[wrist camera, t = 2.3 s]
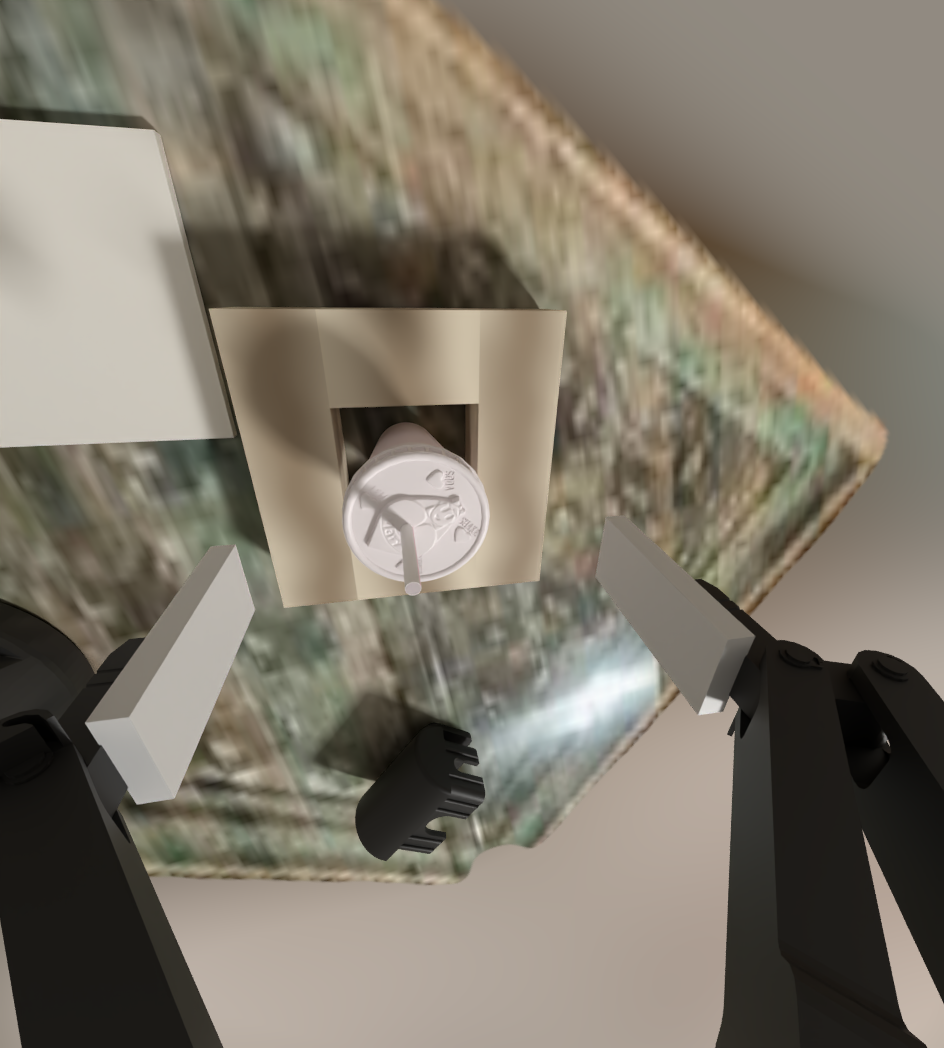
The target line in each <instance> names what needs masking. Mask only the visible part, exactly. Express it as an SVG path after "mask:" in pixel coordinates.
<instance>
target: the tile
mask: <svg viewBox="0 0 944 1048" xmlns="http://www.w3.org/2000/svg"><path fill="white" fill-rule="evenodd" d="M236 435H237V432H236V428H235V424H234V420H233V416H232V413H231V409H230V405H229V401H228V397H227V393H226V389H225V385H224V381H223V377H222V374H221V370H220V366H219V362H218V358H217V354H216V350H215V346H214V342H213V338H212V335H211V331H210V327H209V323H208V319H207V315H206V311H205V307H204V303H203V299H202V296H201V292H200V288H199V284H198V280H197V276H196V272H195V268H194V264H193V260H192V257H191V253H190V249H189V245H188V241H187V237H186V233H185V229H184V225H183V221H182V218H181V214H180V210H179V206H178V202H177V198H176V194H175V190H174V186H173V182H172V179H171V175H170V171H169V167H168V163H167V159H166V155H165V151H164V147H163V144H162V140H161V136H160V134H159V133H157V132H156V131H155V130H149V129H135V128H120V127H106V126H92V125H78V124H63V123H49V122H35V121H21V120H6V119H0V447H22V446H46V445H70V444H95V443H119V442H143V441H167V440H191V439H215V438H234V437H235V436H236Z"/></svg>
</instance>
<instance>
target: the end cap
mask: <svg viewBox="0 0 944 1048" xmlns="http://www.w3.org/2000/svg"><path fill="white" fill-rule="evenodd" d="M471 741H472V740H471V736H470V734H469V733H468V732H465V731H461V730H458V729H455V728H452V727H449V726H445V725H442V724H439V723H432V724H430V725H428V726H426V727H425V728H423V729H422V730H421V731H420V732H419V733H418V734H417V735H416V736H415V737H414V738H413V740H412V741H411V742H410V743H409V744H408V745H407V746H406V748H405V749H404V750H403V751H402V752H401V753H400V754H399V756H398V757H397V758H396V759H395V760H394V761H393V762H392V763H391V765H390V766H389V767H388V768H387V769H386V770H385V771H384V773H383V774H382V775H381V776H380V777H379V778H378V779H377V781H376V782H375V783H374V784H373V785H372V786H371V787H370V789H369V790H368V791H367V792H366V793H365V794H364V795H363V796H362V798H361V800H360V801H359V803H358V806H357V809H356V816H355V823H356V829H357V833H358V836H359V839H360V841H361V842H362V844H363V846H364V847H365V848H366V850H367V851H368V852H369V853H370V854H372V855H373V856H374V857H376V858H378V859H380V860H384V861H387V860H388V859H389V858H390V857H391V856H392V855H393V854H394V853H395V852H396V851H397V850H398V849H402V850H408V851H414V852H421V853H427V854H430V853H431V852H433V851H434V849H435V848H436V847H437V846H438V845H440V844H441V843H442V842H443V841H444V840H445V839H446V832H441V831H435V830H430V829H428V828H426V825H427V824H428V823H429V822H430V821H431V820H433V819H435V818H438V817H442V816H452V817H457V818H462V819H466V818H468V817H469V815H470V814H471V813H472V812H473V811H474V810H475V809H477V808H478V806H479V805H480V804H481V803H482V802H483V801H484V798H485V789H484V784H483V779H482V778H481V777H478V776H474V775H470V774H466V773H462V772H460V771H458V770H457V769H458V768H459V767H460V766H461V765H462V764H463V763H466V764H470V765H474V766H477V765H478V764H479V760H478V756H477V751H476V749H474V748H471V747H467V746H468V745H469V744H470V743H471Z"/></svg>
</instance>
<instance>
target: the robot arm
mask: <svg viewBox="0 0 944 1048" xmlns="http://www.w3.org/2000/svg"><path fill="white" fill-rule="evenodd" d="M595 577H596V578H597V580H598V581H599V582H600V584H601V585H602V586H603V588H604V589H605V590H606V592H607V593H608V594H609V596H610V597H611V599H612V600H613V601H614V603H615V604H616V605H617V607H618V608H619V609H620V611H621V612H622V613H623V615H624V616H625V617H626V619H627V620H628V621H629V623H630V624H631V625H632V627H633V628H634V630H635V631H636V632H637V634H638V635H639V636H640V638H641V639H642V640H643V642H644V643H645V644H646V646H647V647H648V648H649V650H650V651H651V652H652V654H653V655H654V657H655V658H656V659H657V661H658V662H659V663H660V665H661V666H662V667H663V669H664V670H665V671H666V673H667V674H668V675H669V677H670V678H671V679H672V681H673V682H674V684H675V685H676V686H677V688H678V689H679V690H680V692H681V693H682V694H683V696H684V697H685V698H686V699H687V701H688V702H689V704H690V705H691V706H692V708H693V709H694V711H695V712H696V713H697V715H703V714H710V713H716V712H722V711H723V710H724V708H725V705H726V703H727V701H728V699H729V696H731V698H732V699H733V700H734V701H735V702H736V703H737V705H738V706H739V709H738V711H737V713H736V715H735V718H734V720H733V722H732V724H731V726H730V729H729V731H728V735H730V736H732V735H733V732H734V731H735V741H734V766H733V767H734V768H733V791H732V793H733V794H732V817H731V841H730V866H729V891H728V918H727V942H726V968H725V992H724V993H725V994H724V1010H723V1018H722V1024H721V1027H720V1031H719V1035H718V1039H717V1042H716V1047H715V1048H927V1046H926V1045H925V1044H924V1043H923V1042H922V1041H920V1040H919V1039H918V1038H917V1037H915V1035H913V1034H912V1033H911V1032H910V1031H909V1030H908V1029H907V1027H906V1025H905V1023H904V1022H903V1019H902V1016H901V1012H900V1009H899V1005H898V1000H897V996H896V990H895V985H894V981H893V976H892V971H891V966H890V962H889V957H888V952H887V947H886V942H885V938H884V933H883V928H882V923H881V919H880V913H879V909H878V904H877V899H876V894H875V890H874V885H873V880H872V875H871V871H870V866H869V861H868V856H867V852H866V846H865V842H864V837H863V832H864V834H865V836H866V838H867V840H868V842H869V845H870V847H871V849H872V851H873V853H874V855H875V857H876V860H877V862H878V864H879V866H880V868H881V870H882V872H883V875H884V877H885V879H886V881H887V883H888V885H889V887H890V889H891V892H892V894H893V896H894V898H895V900H896V902H897V904H898V907H899V909H900V911H901V913H902V915H903V917H904V920H905V922H906V924H907V926H908V928H909V930H910V932H911V935H912V937H913V939H914V941H915V943H916V945H917V947H918V949H919V952H920V954H921V956H922V958H923V960H924V962H925V964H926V967H927V969H928V971H929V973H930V975H931V977H932V979H933V981H934V984H935V986H936V988H937V990H938V992H939V994H940V996H941V999H942V1001H943V1003H944V701H943V700H942V699H941V698H940V696H939V695H938V694H937V693H936V692H935V690H934V689H933V688H932V687H931V685H930V684H929V683H928V682H927V680H926V679H925V678H924V677H923V676H922V675H921V674H920V673H919V672H918V671H917V670H916V669H915V668H914V667H912V666H910V665H909V664H907V663H906V662H904V661H903V660H901V659H899V658H897V657H894V656H892V655H889V654H885V653H882V652H878V651H870V650H864V651H861V652H858V654H857V656H856V657H855V659H854V661H853V662H852V664H845V663H838V662H830V661H824V660H823V659H822V658H821V657H820V656H819V655H818V654H816V653H815V652H813V651H812V650H810V649H808V648H807V647H805V646H802V645H800V644H797V643H795V642H790V641H785V640H776V639H775V638H774V637H772V636H771V635H770V634H769V633H768V632H767V631H766V630H765V629H763V628H762V627H761V626H760V625H759V624H758V623H756V621H754V620H753V619H752V618H751V617H750V616H749V615H748V614H746V613H745V612H744V611H743V610H740V609H739V606H737V605H736V604H735V603H734V602H733V601H730V600H729V598H728V597H727V596H726V595H725V594H724V593H723V592H722V591H720V590H719V589H718V588H717V587H715V586H713V585H711V584H709V583H708V582H706V581H704V580H702V579H696V580H694V579H693V578H692V577H691V576H690V575H689V574H688V573H686V572H685V571H684V570H683V569H682V568H681V567H680V566H679V565H678V564H677V563H676V562H675V561H673V560H672V559H671V558H670V557H669V556H668V555H667V554H666V553H665V552H664V551H663V550H662V549H660V548H659V547H658V546H657V545H656V544H655V543H654V542H653V541H652V540H651V539H650V538H649V537H647V536H646V535H645V534H644V533H643V532H642V531H641V530H640V529H639V528H638V527H637V526H636V525H634V524H633V523H632V522H631V521H630V520H629V519H628V518H627V517H626V516H611V517H606V520H605V525H604V531H603V536H602V542H601V548H600V553H599V559H598V564H597V570H596V576H595ZM254 611H255V608H254V605H253V602H252V598H251V595H250V592H249V588H248V585H247V581H246V578H245V575H244V571H243V568H242V564H241V561H240V558H239V554H238V551H237V548H236V545H223V546H211V547H210V548H209V549H208V551H207V552H206V554H205V555H204V556H203V558H202V559H201V561H200V562H199V563H198V565H197V566H196V568H195V569H194V570H193V572H192V573H191V575H190V576H189V577H188V579H187V580H186V582H185V583H184V585H183V586H182V587H181V589H180V590H179V592H178V593H177V594H176V596H175V597H174V599H173V600H172V601H171V603H170V604H169V606H168V607H167V608H166V610H165V611H164V613H163V614H162V615H161V617H160V618H159V620H158V621H157V622H156V624H155V625H154V627H153V628H152V629H151V631H150V632H149V634H148V635H147V636H146V637H145V638H136V639H129V640H128V641H127V642H125V643H124V644H123V645H121V646H120V647H119V648H117V649H116V650H115V651H114V652H112V653H111V654H110V655H109V656H108V657H107V659H106V660H105V661H104V662H103V664H102V665H101V666H100V668H99V669H98V670H97V674H94V672H93V669H92V667H91V666H90V664H89V662H88V661H87V659H86V658H85V657H84V655H83V654H82V653H81V652H80V650H79V649H78V648H77V647H76V646H75V645H74V644H73V643H72V642H71V641H69V640H68V639H67V638H66V637H65V636H64V635H62V634H61V633H59V632H58V631H57V630H55V629H54V628H52V627H51V626H49V625H48V624H46V623H44V622H43V621H41V620H39V619H37V618H35V617H33V616H32V615H30V614H28V613H25V612H23V611H21V610H19V609H16V608H14V607H11V606H9V605H6V604H3V603H1V602H0V921H1V927H2V933H3V939H4V945H5V951H6V956H7V963H8V968H9V974H10V980H11V986H12V992H13V998H14V1004H15V1010H16V1015H17V1021H18V1028H19V1033H20V1039H21V1045H22V1048H223V1046H222V1044H221V1041H220V1039H219V1037H218V1034H217V1032H216V1030H215V1028H214V1025H213V1023H212V1021H211V1018H210V1016H209V1014H208V1012H207V1009H206V1007H205V1005H204V1002H203V1000H202V998H201V995H200V993H199V991H198V988H197V986H196V984H195V982H194V979H193V977H192V975H191V972H190V970H189V968H188V966H187V963H186V961H185V959H184V956H183V954H182V952H181V950H180V947H179V945H178V943H177V940H176V938H175V936H174V933H173V931H172V929H171V926H170V924H169V922H168V920H167V917H166V915H165V913H164V910H163V908H162V906H161V903H160V901H159V899H158V897H157V894H156V892H155V890H154V887H153V885H152V883H151V881H150V878H149V876H148V874H147V871H146V869H145V867H144V864H143V862H142V860H141V858H140V855H139V853H138V851H137V848H136V846H135V844H134V842H133V839H132V837H131V835H130V832H129V830H128V828H127V825H126V823H125V821H124V819H123V816H122V815H121V813H120V812H119V810H118V809H117V808H118V806H119V804H120V802H121V800H122V798H123V796H124V794H125V793H126V791H127V790H128V791H129V793H130V794H131V796H132V798H133V799H134V801H135V802H136V804H143V803H149V802H156V801H162V800H168V799H174V798H175V796H176V794H177V791H178V789H179V787H180V784H181V782H182V780H183V777H184V775H185V773H186V770H187V768H188V766H189V763H190V761H191V759H192V756H193V754H194V752H195V749H196V747H197V745H198V742H199V740H200V738H201V735H202V733H203V730H204V728H205V726H206V723H207V721H208V719H209V716H210V714H211V712H212V709H213V707H214V705H215V702H216V700H217V698H218V695H219V693H220V691H221V688H222V686H223V684H224V681H225V679H226V677H227V674H228V672H229V670H230V667H231V665H232V663H233V660H234V658H235V655H236V653H237V651H238V648H239V646H240V644H241V641H242V639H243V637H244V634H245V632H246V630H247V627H248V625H249V623H250V620H251V618H252V616H253V613H254ZM887 740H889V743H890V746H889V745H888V743H887ZM862 830H863V832H862Z"/></svg>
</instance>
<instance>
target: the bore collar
mask: <svg viewBox="0 0 944 1048" xmlns="http://www.w3.org/2000/svg"><path fill="white" fill-rule="evenodd" d="M209 312H210V316H211V320H212V324H213V328H214V332H215V336H216V340H217V344H218V347H219V351H220V355H221V359H222V363H223V367H224V371H225V375H226V379H227V383H228V387H229V391H230V395H231V399H232V403H233V407H234V411H235V415H236V419H237V423H238V427H239V431H240V435H241V438H242V442H243V446H244V450H245V454H246V458H247V462H248V466H249V470H250V474H251V478H252V482H253V486H254V490H255V494H256V498H257V502H258V506H259V510H260V514H261V518H262V522H263V526H264V529H265V533H266V537H267V541H268V545H269V549H270V553H271V557H272V561H273V565H274V569H275V573H276V577H277V581H278V585H279V589H280V593H281V597H282V601H283V605H284V608H287V607H296V606H306V605H315V604H325V603H334V602H343V601H353V600H362V599H371V598H381V597H390V596H400V595H409V594H407V593H406V591H405V583H404V582H402V581H396V580H392V579H389V578H386V577H383V576H381V575H379V574H377V573H375V572H373V571H372V570H370V569H369V568H367V567H366V566H365V565H363V564H362V563H361V562H360V561H359V560H358V559H357V557H356V556H355V555H354V554H353V552H352V551H351V549H350V547H349V546H348V543H347V541H346V539H345V535H344V531H343V525H342V513H343V512H342V507H343V501H344V496H345V491H346V489H347V487H348V485H349V483H350V482H349V475H348V468H347V461H346V453H345V446H344V439H343V431H342V424H341V417H340V409H339V408H353V407H384V406H416V405H447V404H465V461H466V462H467V463H468V464H469V465H470V466H471V467H472V468H473V469H474V470H475V472H476V473H477V475H478V477H479V479H480V480H481V482H482V484H483V486H484V490H485V493H486V496H487V499H488V504H489V511H490V518H489V526H488V530H487V533H486V536H485V539H484V541H483V543H482V545H481V546H480V548H479V549H478V551H477V552H476V553H475V555H474V556H473V557H472V558H471V559H470V560H469V561H468V562H467V563H466V564H464V565H463V566H462V567H460V568H459V569H458V570H456V571H454V572H452V573H450V574H448V575H446V576H444V577H441V578H438V579H435V580H430V581H424V582H421V591H420V593H428V592H437V591H447V590H456V589H465V588H475V587H484V586H494V585H503V584H512V583H522V582H531V581H539V577H540V568H541V558H542V548H543V539H544V529H545V519H546V510H547V500H548V490H549V480H550V471H551V461H552V451H553V442H554V432H555V422H556V413H557V403H558V393H559V383H560V374H561V364H562V354H563V345H564V335H565V325H566V316H567V311H564V310H550V309H494V308H350V307H225V308H209Z"/></svg>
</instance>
